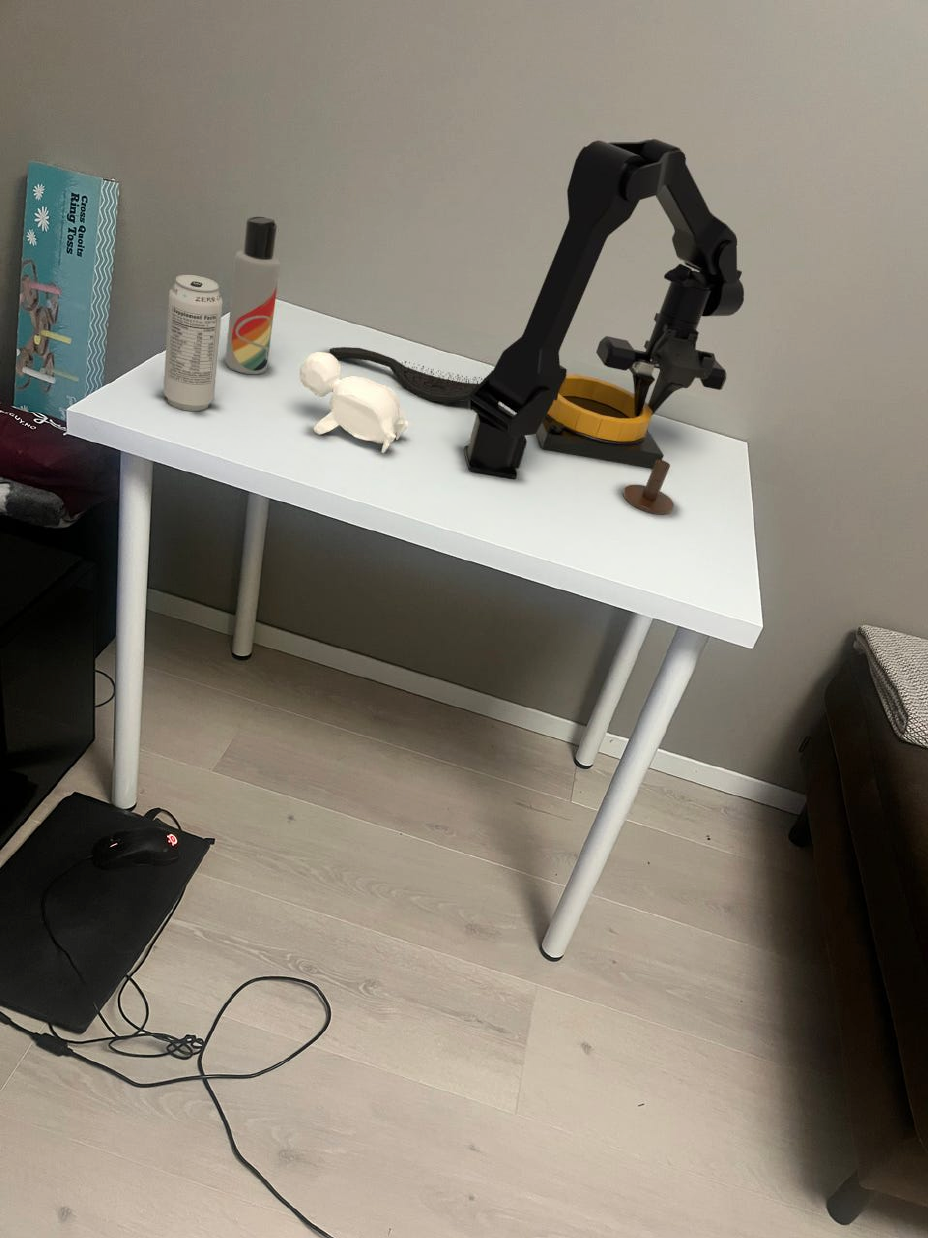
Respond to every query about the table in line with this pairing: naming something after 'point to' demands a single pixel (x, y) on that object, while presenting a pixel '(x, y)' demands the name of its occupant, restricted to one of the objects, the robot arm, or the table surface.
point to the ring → (595, 422)
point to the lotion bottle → (253, 299)
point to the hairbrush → (414, 377)
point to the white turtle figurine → (353, 401)
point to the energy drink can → (192, 342)
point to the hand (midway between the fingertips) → (641, 416)
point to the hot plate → (597, 439)
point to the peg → (651, 492)
